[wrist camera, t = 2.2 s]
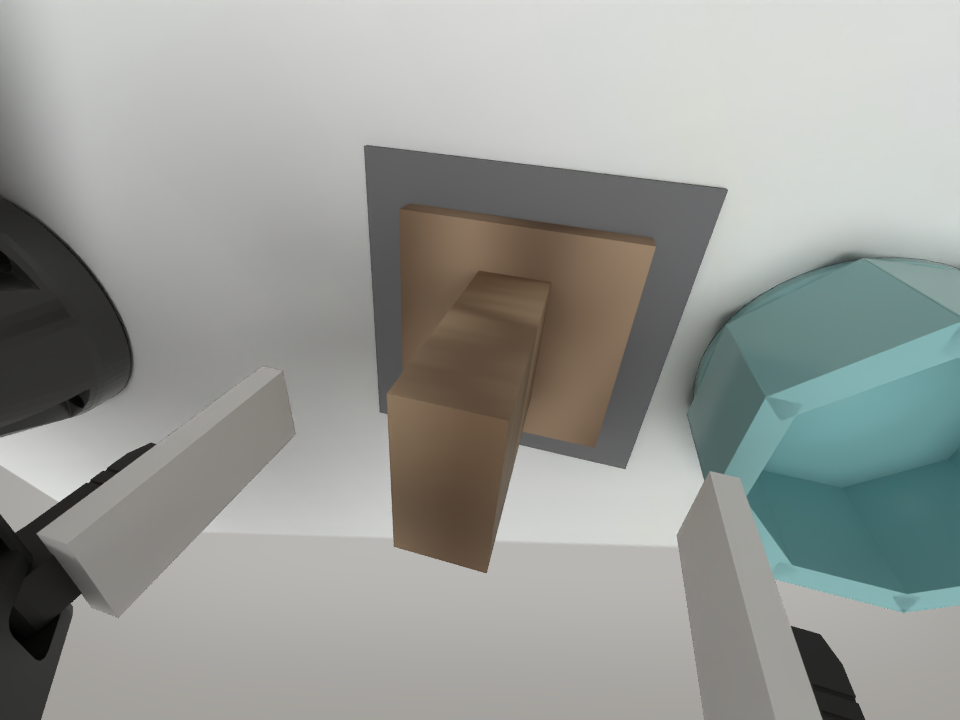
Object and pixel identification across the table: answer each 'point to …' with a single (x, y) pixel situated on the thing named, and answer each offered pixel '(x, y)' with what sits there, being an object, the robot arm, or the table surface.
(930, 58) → the table surface
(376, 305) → the mat
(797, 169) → the table surface
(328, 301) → the table surface
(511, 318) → the cover lid
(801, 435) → the bowl
